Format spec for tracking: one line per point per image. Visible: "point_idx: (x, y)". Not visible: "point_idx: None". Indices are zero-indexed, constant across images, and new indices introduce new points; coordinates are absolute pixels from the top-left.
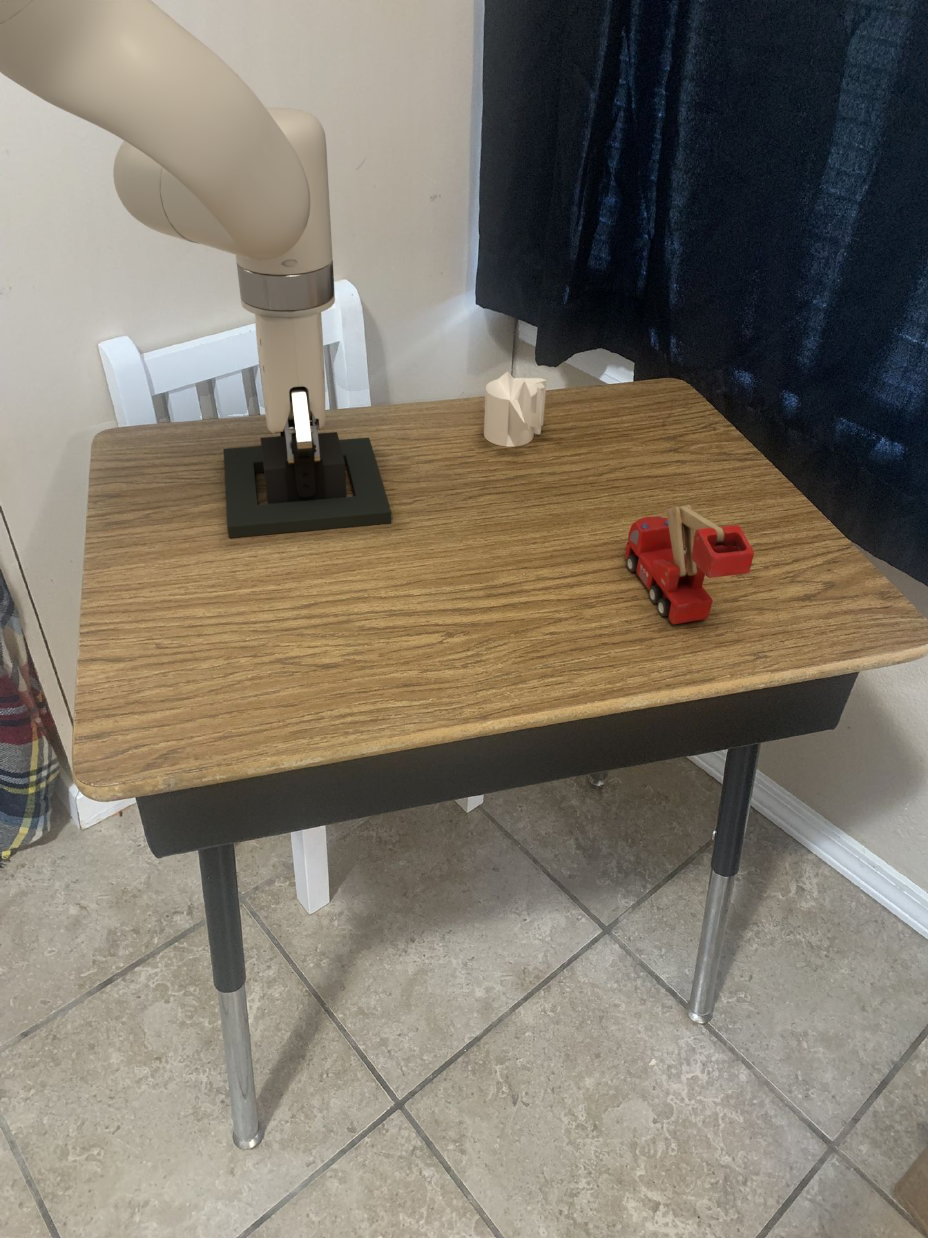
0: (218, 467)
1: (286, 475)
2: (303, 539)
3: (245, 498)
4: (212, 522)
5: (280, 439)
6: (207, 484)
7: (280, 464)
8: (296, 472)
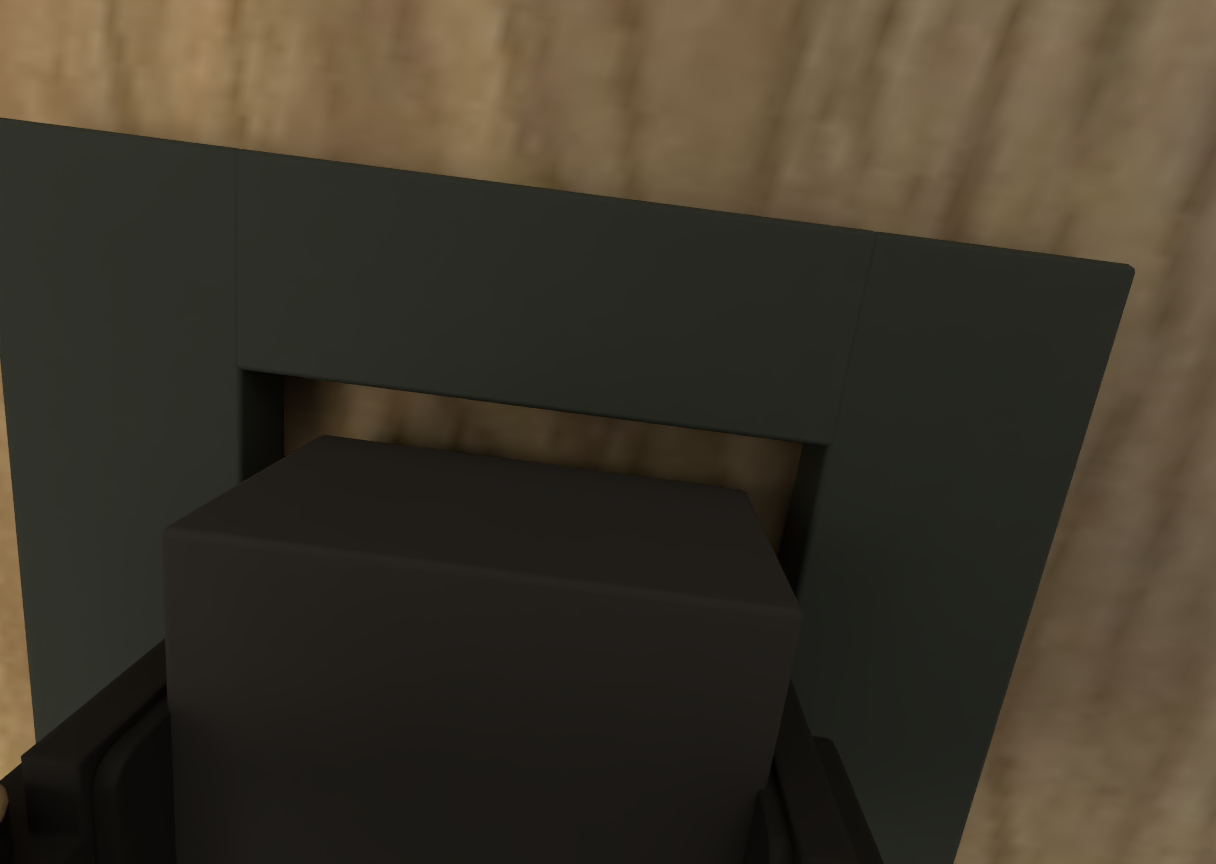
0: (986, 201)
1: (127, 669)
2: (13, 539)
3: (330, 303)
4: (267, 51)
5: (701, 764)
6: (775, 87)
7: (232, 675)
8: (11, 772)
